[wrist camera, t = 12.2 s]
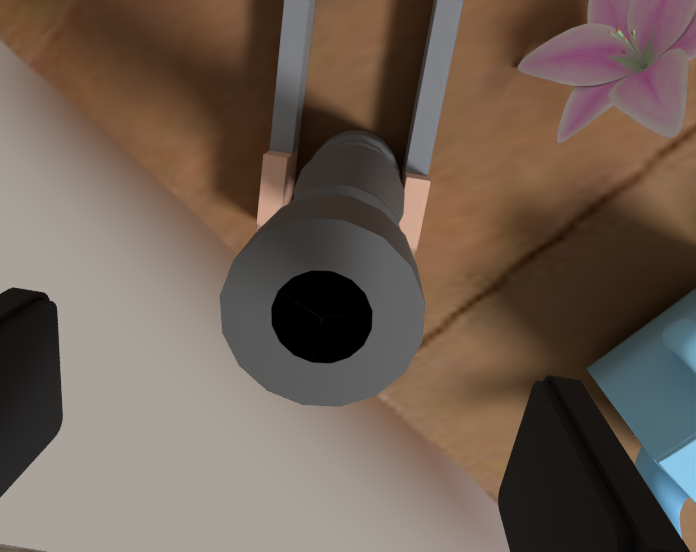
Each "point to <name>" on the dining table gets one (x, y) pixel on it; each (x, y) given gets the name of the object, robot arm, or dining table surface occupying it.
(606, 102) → the lily
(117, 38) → the dining table surface
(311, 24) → the guide channel
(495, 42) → the dining table surface
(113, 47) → the dining table surface
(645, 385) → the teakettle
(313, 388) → the candle holder
